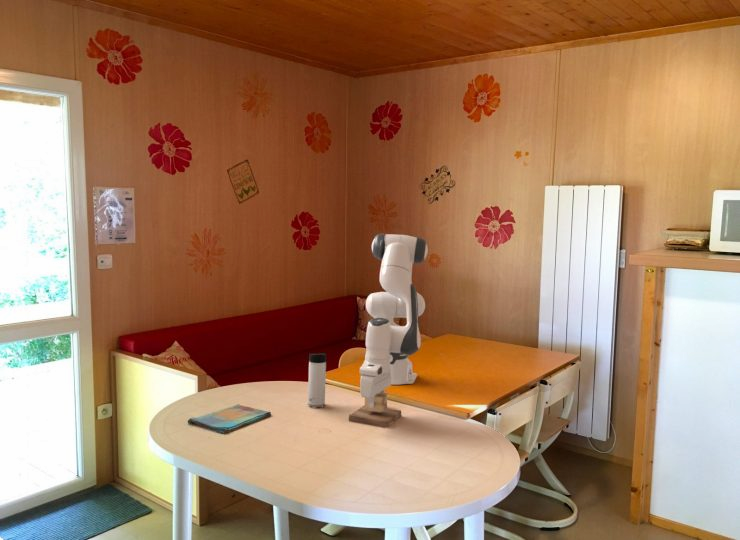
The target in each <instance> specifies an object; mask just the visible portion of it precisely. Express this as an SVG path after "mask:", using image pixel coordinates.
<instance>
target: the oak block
mask: <svg viewBox="0 0 740 540" xmlns="http://www.w3.org/2000/svg"><path fill="white" fill-rule="evenodd" d="M374 402H375V407H373V408H371V407H369V401H368V398H364V405H365V410H369V411H375V412H382V411H383V410H385V409H386V408H388V393H386V392H385V393H378V394H376V395H375V398H374Z"/></svg>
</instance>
